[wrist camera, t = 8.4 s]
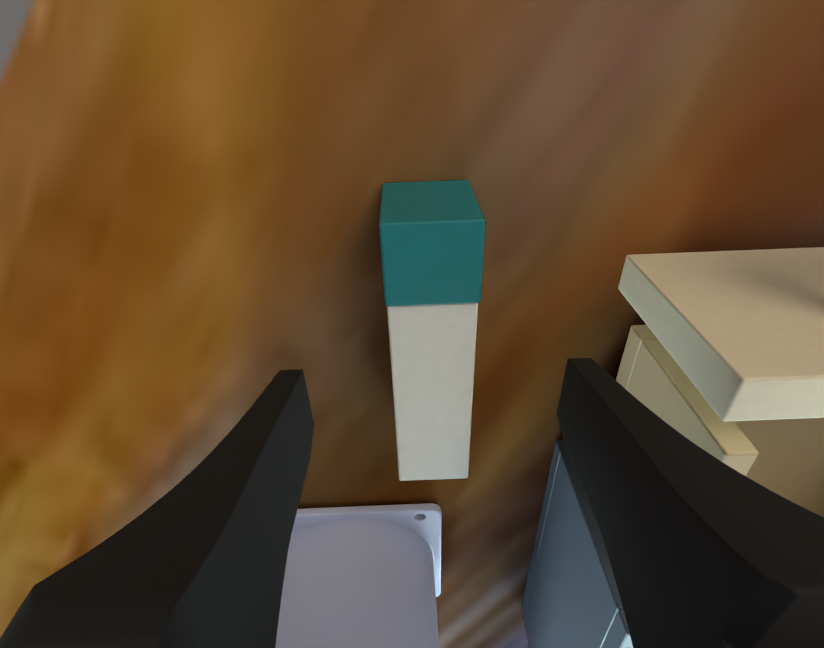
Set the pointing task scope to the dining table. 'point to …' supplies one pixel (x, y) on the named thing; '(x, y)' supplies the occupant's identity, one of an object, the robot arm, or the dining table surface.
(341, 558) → the robot arm
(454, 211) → the teal-capped white post
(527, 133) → the dining table surface
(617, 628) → the cabinet
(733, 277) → the drawer
